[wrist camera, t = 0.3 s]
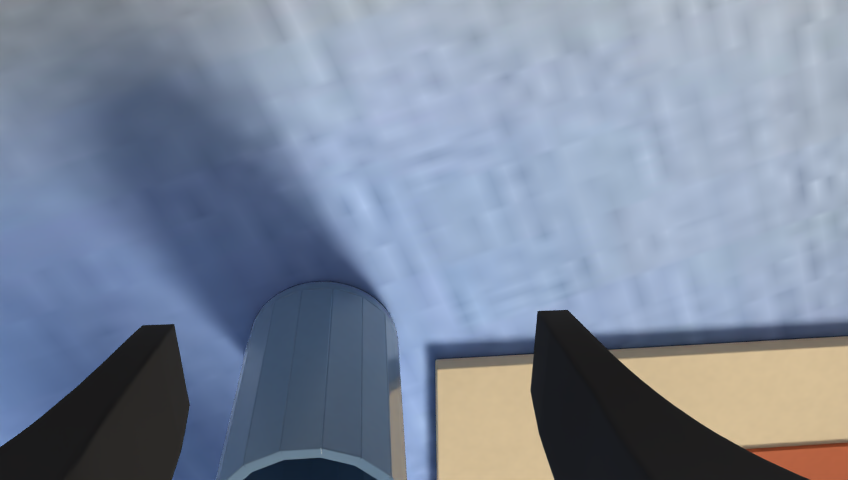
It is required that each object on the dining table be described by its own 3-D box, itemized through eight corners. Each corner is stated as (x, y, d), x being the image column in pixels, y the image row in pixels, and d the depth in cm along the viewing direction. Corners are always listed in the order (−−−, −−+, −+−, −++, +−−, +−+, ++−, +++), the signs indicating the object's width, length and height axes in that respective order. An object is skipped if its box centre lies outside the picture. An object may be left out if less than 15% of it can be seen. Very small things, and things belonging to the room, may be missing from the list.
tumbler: (400, 395, 28) (411, 579, 21) (260, 403, 28) (225, 593, 21) (395, 276, 26) (405, 442, 19) (240, 284, 26) (194, 455, 19)
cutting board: (868, 541, 35) (878, 555, 34) (437, 571, 34) (439, 587, 33) (952, 329, 29) (967, 341, 28) (435, 358, 28) (436, 372, 27)
